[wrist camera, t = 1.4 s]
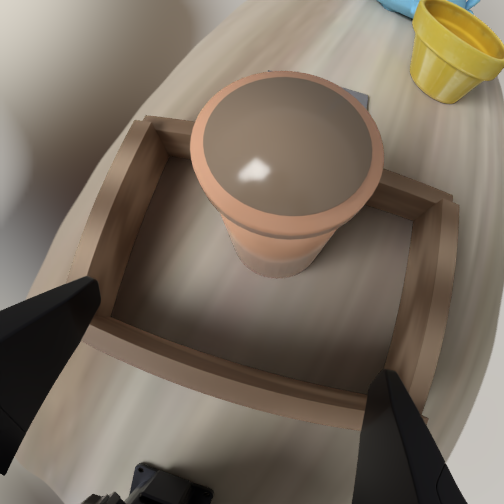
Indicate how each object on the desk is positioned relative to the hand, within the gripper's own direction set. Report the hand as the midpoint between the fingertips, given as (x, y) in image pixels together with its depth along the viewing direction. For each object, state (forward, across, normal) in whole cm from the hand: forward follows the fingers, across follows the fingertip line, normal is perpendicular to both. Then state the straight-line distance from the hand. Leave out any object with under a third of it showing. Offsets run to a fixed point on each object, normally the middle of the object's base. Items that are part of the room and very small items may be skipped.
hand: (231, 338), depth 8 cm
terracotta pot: (+14, 0, +4) cm, 15 cm away
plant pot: (+31, -13, -12) cm, 35 cm away
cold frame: (+12, 0, +6) cm, 14 cm away
